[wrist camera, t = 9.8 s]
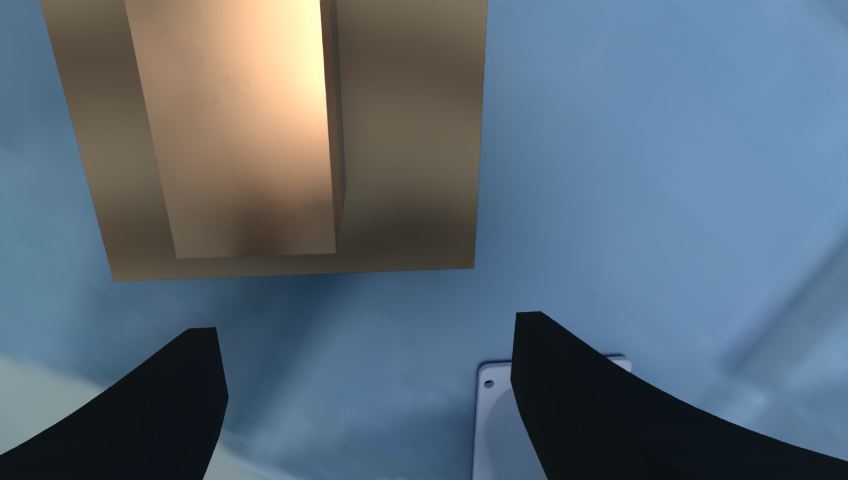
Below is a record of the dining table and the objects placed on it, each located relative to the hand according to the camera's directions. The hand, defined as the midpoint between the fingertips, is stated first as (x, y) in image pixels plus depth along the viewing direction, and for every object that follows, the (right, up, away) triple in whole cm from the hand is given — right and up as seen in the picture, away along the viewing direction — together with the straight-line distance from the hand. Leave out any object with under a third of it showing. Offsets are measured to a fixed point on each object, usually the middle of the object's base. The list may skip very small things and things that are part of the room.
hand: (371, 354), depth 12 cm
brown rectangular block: (-4, +8, +5) cm, 10 cm away
